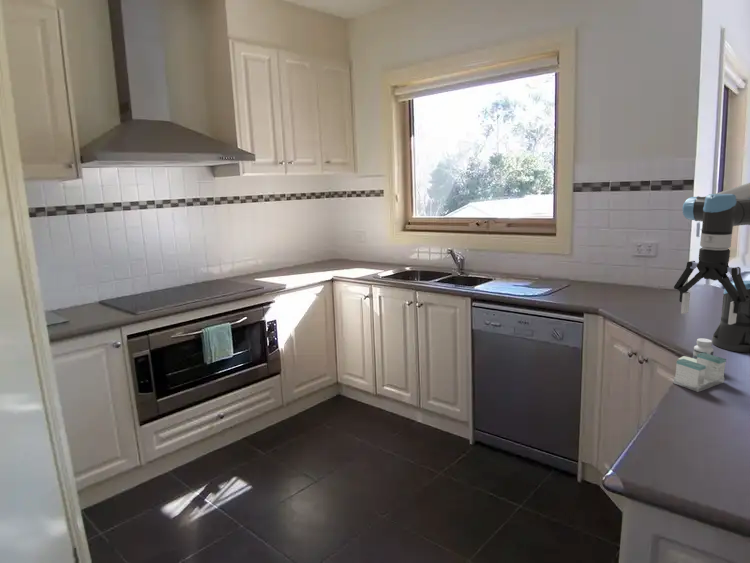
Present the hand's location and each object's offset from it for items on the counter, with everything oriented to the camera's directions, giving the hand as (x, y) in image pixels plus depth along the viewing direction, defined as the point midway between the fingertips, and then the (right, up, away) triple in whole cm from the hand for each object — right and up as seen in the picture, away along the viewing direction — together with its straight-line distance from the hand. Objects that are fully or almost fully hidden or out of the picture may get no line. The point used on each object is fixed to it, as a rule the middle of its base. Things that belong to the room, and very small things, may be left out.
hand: (707, 318), depth 156 cm
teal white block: (-5, -19, -4) cm, 20 cm away
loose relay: (-3, -17, +5) cm, 18 cm away
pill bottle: (+3, -16, +8) cm, 18 cm away
